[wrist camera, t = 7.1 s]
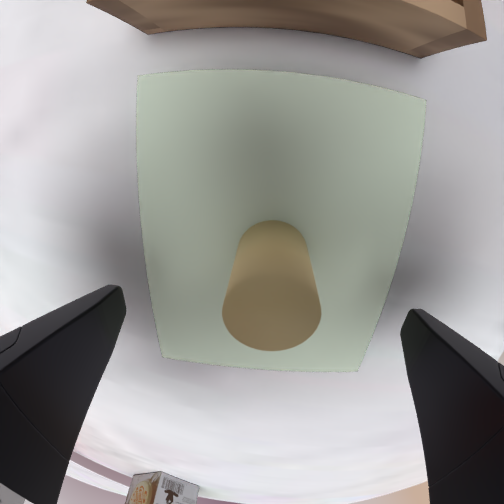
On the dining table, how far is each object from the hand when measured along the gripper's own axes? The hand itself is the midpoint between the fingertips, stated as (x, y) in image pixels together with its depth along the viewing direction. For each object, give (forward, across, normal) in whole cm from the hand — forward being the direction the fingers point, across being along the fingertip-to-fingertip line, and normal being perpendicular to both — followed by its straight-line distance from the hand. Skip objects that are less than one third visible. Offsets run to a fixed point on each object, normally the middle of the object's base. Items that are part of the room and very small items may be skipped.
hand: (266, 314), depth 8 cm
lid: (+5, 0, 0) cm, 5 cm away
